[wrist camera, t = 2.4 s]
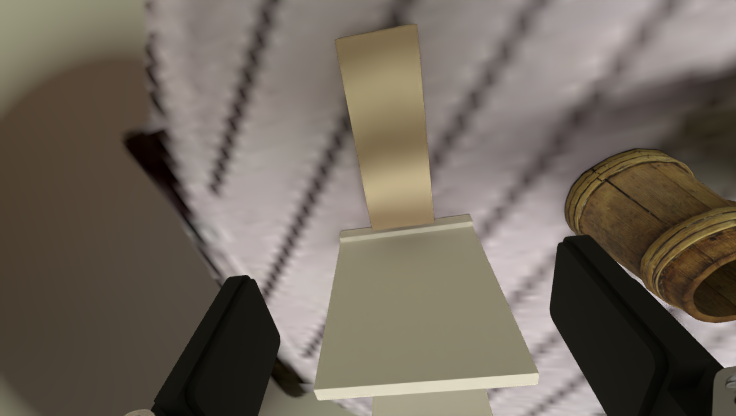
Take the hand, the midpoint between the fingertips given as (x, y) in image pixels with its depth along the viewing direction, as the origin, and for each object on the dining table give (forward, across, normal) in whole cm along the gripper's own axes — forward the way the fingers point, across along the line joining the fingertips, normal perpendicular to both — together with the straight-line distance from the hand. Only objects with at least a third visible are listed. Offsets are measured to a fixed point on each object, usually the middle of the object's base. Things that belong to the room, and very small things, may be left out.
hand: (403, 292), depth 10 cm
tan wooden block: (+19, 0, 0) cm, 19 cm away
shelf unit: (+18, 0, +19) cm, 26 cm away
